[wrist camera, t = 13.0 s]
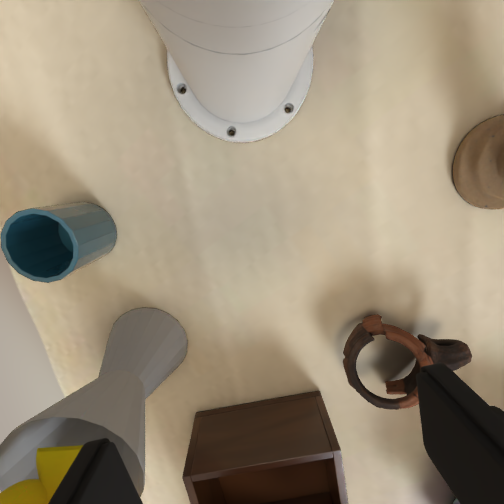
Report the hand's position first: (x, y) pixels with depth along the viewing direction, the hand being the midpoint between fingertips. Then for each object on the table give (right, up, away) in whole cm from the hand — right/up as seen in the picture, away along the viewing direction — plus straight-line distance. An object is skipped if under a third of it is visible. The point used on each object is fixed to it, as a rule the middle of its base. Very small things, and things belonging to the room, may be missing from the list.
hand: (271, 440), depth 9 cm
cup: (-17, +8, +20) cm, 28 cm away
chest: (+2, -20, +28) cm, 34 cm away
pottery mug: (+15, -5, +24) cm, 29 cm away
